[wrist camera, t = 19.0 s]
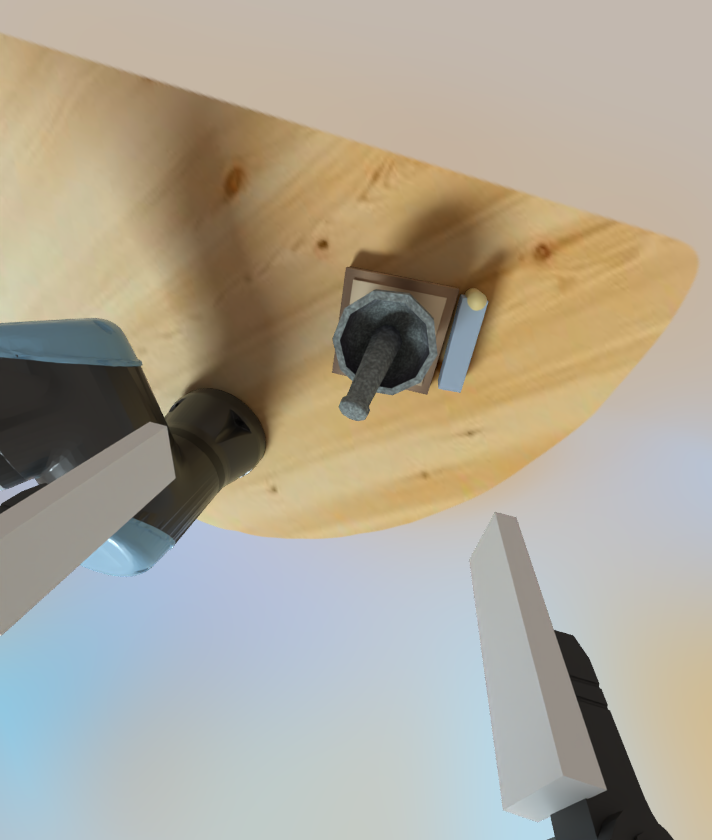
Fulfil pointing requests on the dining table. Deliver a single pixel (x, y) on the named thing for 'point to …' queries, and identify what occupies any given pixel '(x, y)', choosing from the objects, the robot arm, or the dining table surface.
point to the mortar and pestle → (383, 347)
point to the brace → (462, 339)
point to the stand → (428, 294)
